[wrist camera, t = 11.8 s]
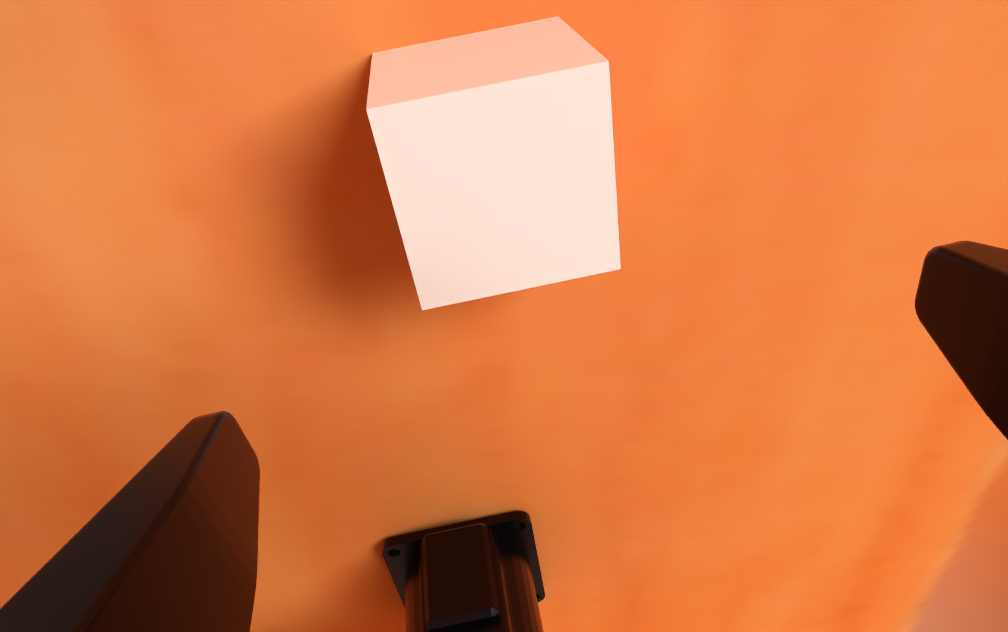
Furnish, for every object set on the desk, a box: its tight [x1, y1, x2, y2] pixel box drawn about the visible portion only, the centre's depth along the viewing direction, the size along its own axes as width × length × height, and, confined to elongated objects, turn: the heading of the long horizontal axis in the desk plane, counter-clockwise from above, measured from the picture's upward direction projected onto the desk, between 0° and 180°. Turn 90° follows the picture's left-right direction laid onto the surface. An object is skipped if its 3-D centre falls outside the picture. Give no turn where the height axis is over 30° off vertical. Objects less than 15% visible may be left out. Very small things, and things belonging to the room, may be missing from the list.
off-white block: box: [366, 17, 621, 310], centre depth 17 cm, size 5×5×5 cm
